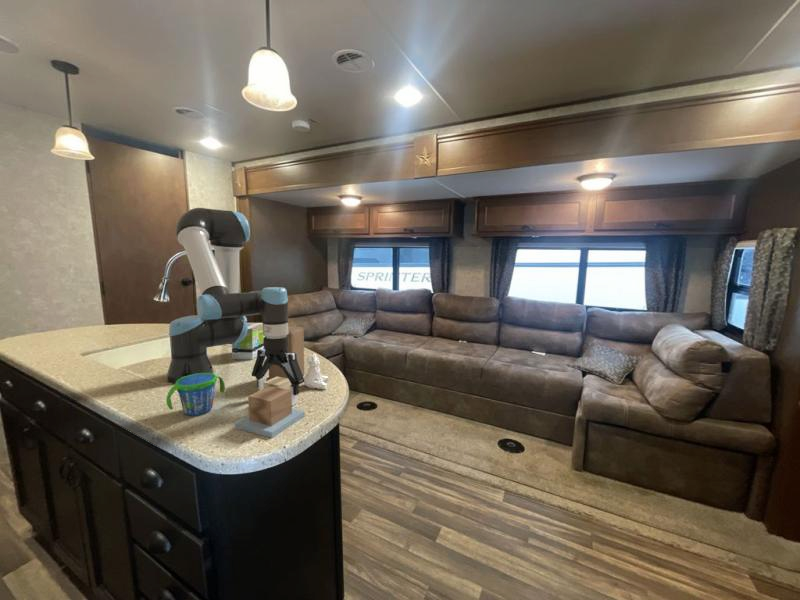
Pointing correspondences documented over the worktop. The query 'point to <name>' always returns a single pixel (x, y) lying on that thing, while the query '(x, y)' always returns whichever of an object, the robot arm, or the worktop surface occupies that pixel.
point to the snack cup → (196, 392)
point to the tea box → (249, 343)
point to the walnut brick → (270, 405)
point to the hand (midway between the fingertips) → (278, 400)
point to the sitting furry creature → (315, 374)
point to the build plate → (266, 429)
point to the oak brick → (278, 383)
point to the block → (294, 346)
